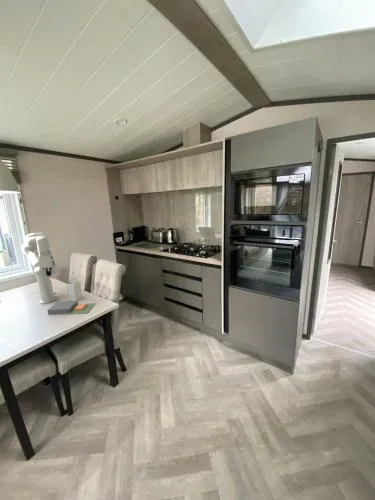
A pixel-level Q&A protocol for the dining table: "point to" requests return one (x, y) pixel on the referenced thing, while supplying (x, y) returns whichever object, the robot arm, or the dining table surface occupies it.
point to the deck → (62, 307)
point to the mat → (86, 310)
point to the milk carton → (74, 289)
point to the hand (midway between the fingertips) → (49, 275)
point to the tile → (80, 307)
